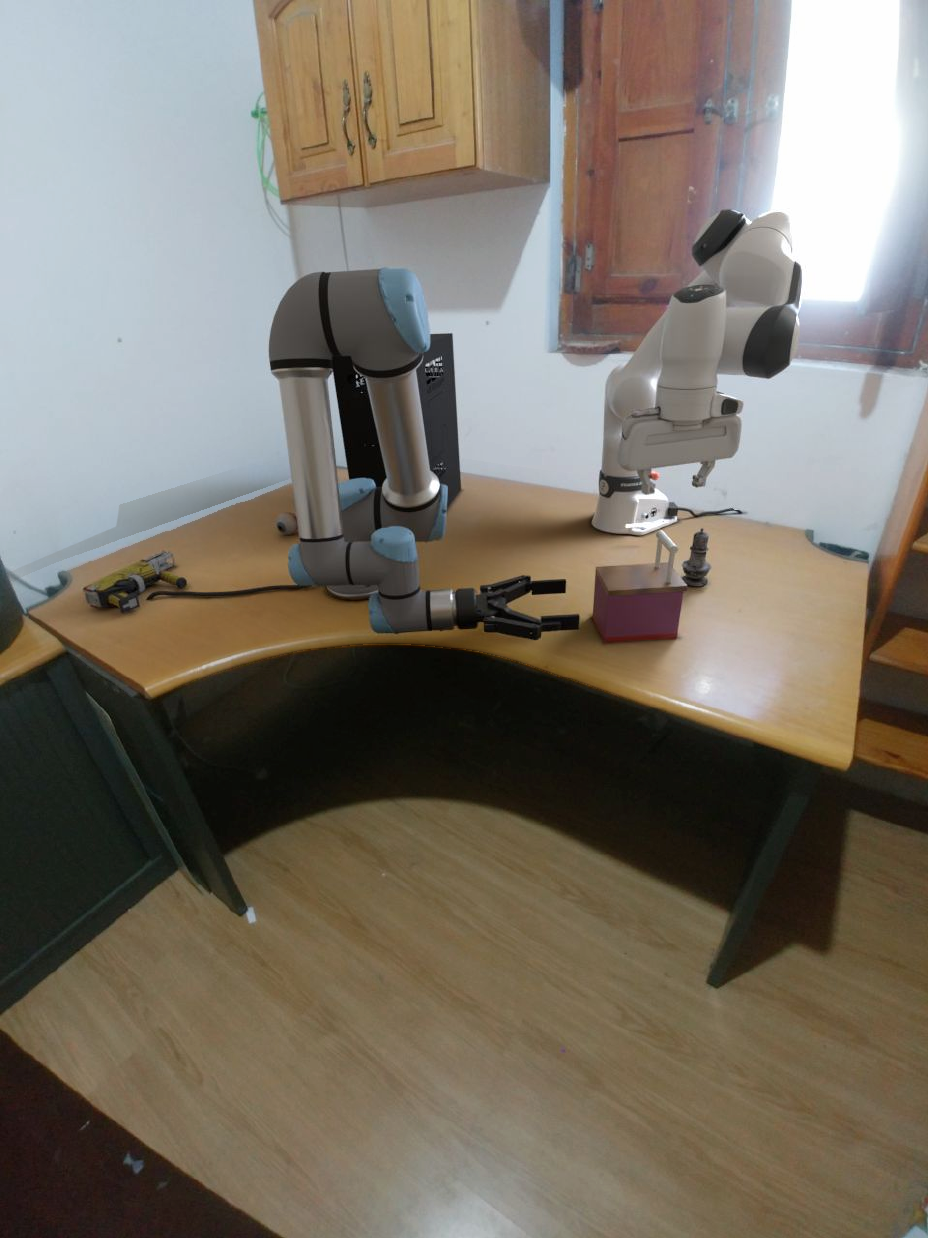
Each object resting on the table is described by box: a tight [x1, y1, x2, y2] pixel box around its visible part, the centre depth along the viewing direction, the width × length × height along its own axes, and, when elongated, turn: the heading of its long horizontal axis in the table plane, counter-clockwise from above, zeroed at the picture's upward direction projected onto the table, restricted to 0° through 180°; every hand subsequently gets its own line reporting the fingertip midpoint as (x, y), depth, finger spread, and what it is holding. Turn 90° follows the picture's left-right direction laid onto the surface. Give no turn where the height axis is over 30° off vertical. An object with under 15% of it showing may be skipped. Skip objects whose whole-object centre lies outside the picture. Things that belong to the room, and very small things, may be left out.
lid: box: [595, 529, 689, 596], centre depth 108 cm, size 14×10×8 cm
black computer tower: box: [332, 332, 462, 509], centre depth 166 cm, size 38×20×45 cm, turn 167°
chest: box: [592, 572, 684, 643], centre depth 112 cm, size 13×10×10 cm
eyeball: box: [275, 511, 298, 536], centre depth 163 cm, size 6×6×6 cm
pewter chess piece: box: [681, 527, 712, 587], centre depth 126 cm, size 6×6×12 cm
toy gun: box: [82, 550, 188, 615], centre depth 138 cm, size 5×24×15 cm
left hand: (572, 602), depth 110 cm, fingers open, 13 cm apart
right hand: (673, 489), depth 101 cm, fingers open, 8 cm apart
